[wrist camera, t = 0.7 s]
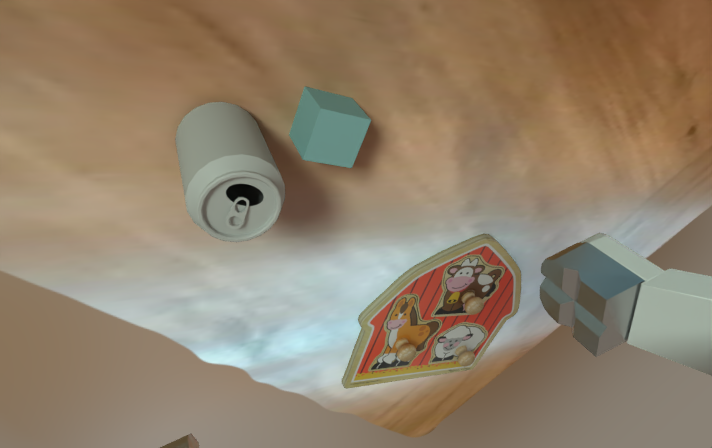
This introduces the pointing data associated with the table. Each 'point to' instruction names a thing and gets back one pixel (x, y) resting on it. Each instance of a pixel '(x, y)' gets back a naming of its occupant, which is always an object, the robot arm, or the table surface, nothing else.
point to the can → (228, 173)
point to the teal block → (328, 128)
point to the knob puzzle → (437, 315)
